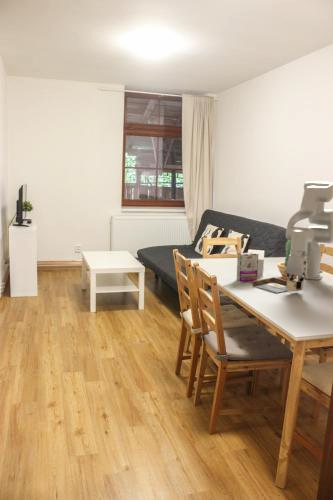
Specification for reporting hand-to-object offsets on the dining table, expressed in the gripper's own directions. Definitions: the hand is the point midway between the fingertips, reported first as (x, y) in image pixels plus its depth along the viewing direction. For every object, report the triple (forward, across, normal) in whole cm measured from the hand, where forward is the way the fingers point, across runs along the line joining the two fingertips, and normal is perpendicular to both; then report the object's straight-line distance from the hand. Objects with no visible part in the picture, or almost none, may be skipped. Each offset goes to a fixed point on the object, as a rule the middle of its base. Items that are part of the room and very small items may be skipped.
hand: (294, 287), depth 230 cm
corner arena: (+4, +13, 0) cm, 14 cm away
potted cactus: (+5, +24, -26) cm, 36 cm away
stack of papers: (+5, +49, -23) cm, 54 cm away
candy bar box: (+4, +32, +3) cm, 32 cm away
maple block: (+1, 0, +1) cm, 2 cm away
